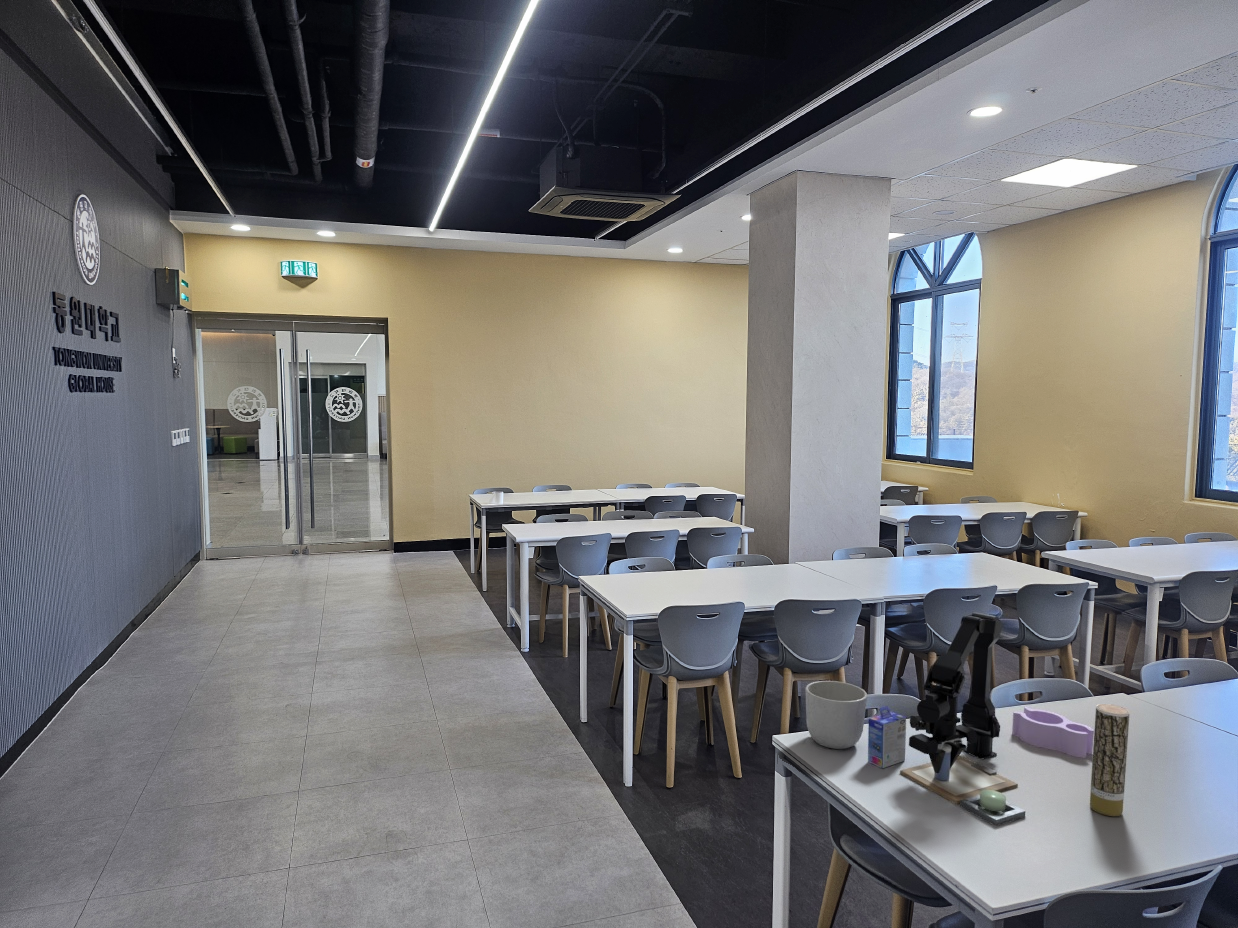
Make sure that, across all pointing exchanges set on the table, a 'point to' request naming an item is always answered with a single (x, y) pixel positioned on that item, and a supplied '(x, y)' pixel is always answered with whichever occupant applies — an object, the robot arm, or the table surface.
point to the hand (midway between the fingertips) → (941, 771)
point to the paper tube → (1109, 759)
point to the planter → (835, 713)
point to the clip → (1053, 732)
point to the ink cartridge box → (886, 738)
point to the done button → (992, 800)
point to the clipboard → (960, 780)
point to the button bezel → (996, 820)
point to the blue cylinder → (944, 764)
